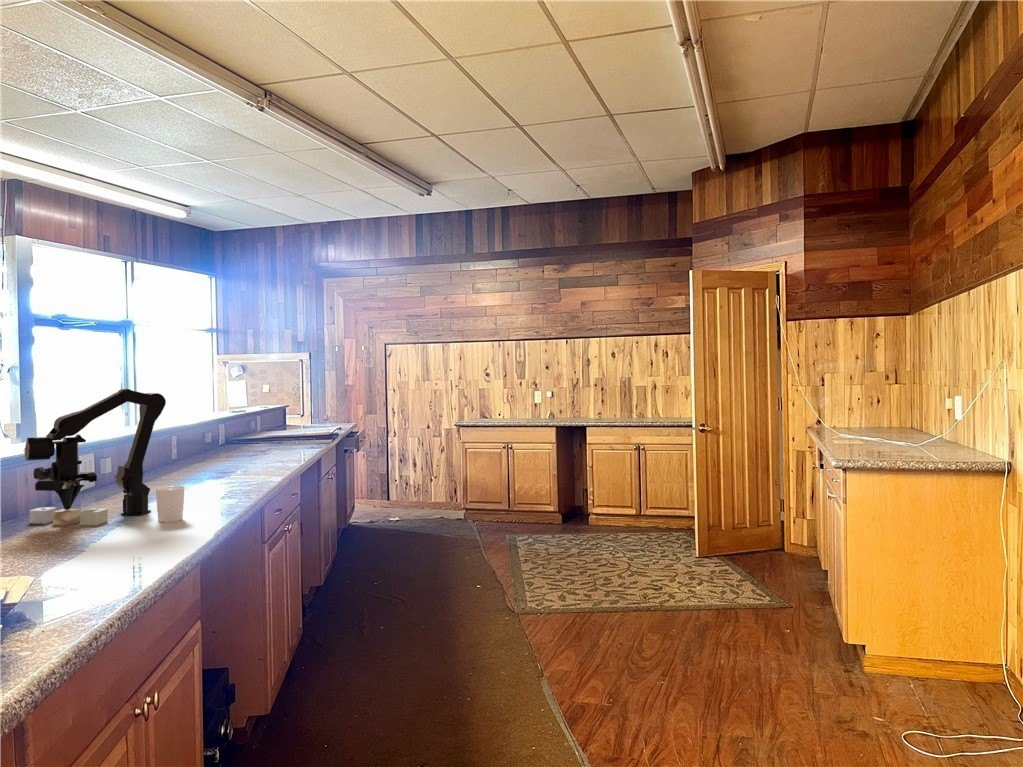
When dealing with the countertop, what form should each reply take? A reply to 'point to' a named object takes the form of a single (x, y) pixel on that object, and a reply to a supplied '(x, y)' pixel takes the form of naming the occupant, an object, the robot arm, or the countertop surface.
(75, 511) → the birch block
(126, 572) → the countertop surface
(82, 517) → the sage block one
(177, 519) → the white cup
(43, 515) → the white die
